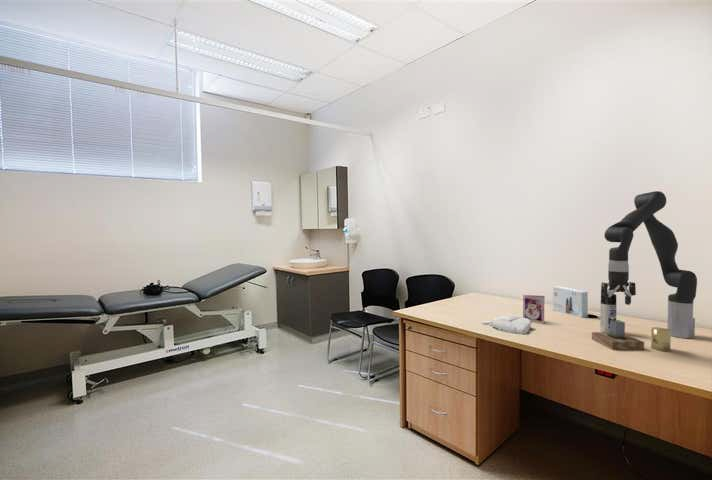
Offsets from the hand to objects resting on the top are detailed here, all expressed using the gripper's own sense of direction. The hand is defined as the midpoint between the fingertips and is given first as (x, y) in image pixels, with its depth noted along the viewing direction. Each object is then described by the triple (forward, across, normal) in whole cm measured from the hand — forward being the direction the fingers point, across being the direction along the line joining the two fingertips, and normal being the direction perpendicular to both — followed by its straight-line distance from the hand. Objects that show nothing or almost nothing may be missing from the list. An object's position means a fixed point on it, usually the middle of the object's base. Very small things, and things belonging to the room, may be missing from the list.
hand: (618, 304), depth 159 cm
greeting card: (+19, +19, -39) cm, 48 cm away
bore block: (+19, 0, 0) cm, 19 cm away
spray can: (+19, -9, -19) cm, 29 cm away
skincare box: (+19, -11, -57) cm, 61 cm away
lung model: (+19, +42, -27) cm, 53 cm away
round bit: (+19, -15, +6) cm, 25 cm away
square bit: (+19, 0, 0) cm, 19 cm away
